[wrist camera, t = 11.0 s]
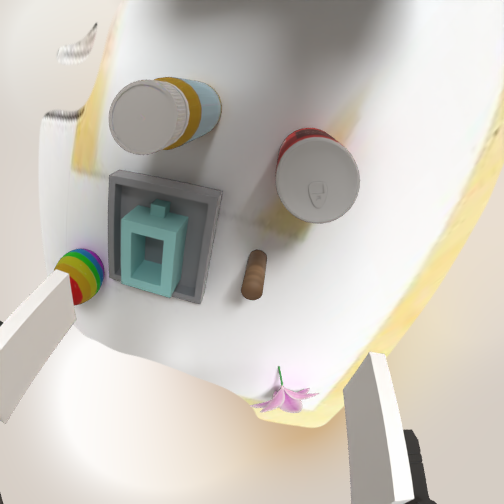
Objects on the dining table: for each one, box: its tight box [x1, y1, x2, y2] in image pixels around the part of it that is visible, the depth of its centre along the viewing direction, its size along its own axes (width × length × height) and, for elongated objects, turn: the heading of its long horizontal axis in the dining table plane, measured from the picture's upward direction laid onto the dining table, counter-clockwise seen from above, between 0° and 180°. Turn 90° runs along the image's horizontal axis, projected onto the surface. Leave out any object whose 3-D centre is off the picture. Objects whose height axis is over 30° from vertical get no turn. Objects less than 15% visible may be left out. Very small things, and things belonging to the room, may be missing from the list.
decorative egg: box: [54, 249, 104, 305], centre depth 42 cm, size 8×8×10 cm
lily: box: [250, 366, 319, 413], centre depth 51 cm, size 12×12×10 cm
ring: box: [121, 199, 189, 298], centre depth 40 cm, size 8×12×5 cm, turn 167°
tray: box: [108, 170, 223, 304], centre depth 41 cm, size 16×15×3 cm
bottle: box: [109, 77, 222, 155], centre depth 27 cm, size 7×7×15 cm
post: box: [241, 250, 267, 300], centre depth 39 cm, size 2×2×8 cm
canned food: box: [276, 128, 360, 223], centre depth 31 cm, size 8×8×11 cm
